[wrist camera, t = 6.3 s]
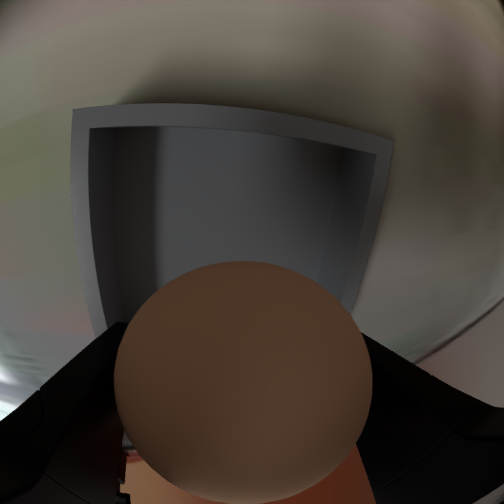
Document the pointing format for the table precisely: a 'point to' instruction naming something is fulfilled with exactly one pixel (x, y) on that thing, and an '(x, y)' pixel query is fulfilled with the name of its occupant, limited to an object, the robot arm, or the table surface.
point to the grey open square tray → (218, 198)
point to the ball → (243, 382)
